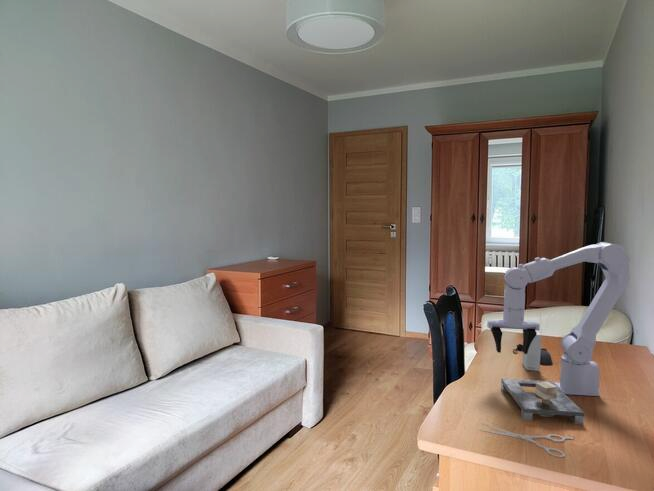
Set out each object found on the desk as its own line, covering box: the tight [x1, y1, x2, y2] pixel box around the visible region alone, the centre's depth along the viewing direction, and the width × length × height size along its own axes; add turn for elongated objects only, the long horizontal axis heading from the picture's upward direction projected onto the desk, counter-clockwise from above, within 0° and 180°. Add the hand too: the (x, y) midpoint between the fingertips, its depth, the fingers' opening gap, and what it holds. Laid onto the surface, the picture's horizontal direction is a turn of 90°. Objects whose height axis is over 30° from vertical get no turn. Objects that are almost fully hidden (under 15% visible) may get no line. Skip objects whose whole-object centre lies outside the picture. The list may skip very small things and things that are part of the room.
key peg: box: [534, 382, 557, 418], centre depth 114 cm, size 4×4×8 cm
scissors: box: [481, 422, 574, 458], centre depth 101 cm, size 11×1×20 cm
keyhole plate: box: [500, 378, 585, 425], centre depth 119 cm, size 14×20×3 cm
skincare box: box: [521, 330, 543, 372], centre depth 147 cm, size 6×4×12 cm
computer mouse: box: [512, 343, 554, 366], centre depth 159 cm, size 12×17×4 cm
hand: (511, 352), depth 133 cm, fingers open, 7 cm apart
